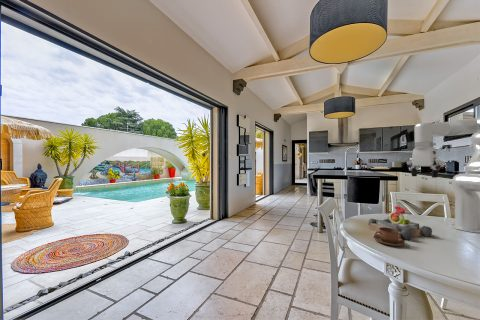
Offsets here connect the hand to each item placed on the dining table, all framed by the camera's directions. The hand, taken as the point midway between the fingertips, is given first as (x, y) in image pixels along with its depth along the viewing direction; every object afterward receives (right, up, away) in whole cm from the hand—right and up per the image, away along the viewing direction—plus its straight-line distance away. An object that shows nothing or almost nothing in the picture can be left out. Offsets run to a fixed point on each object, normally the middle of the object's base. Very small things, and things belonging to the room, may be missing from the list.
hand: (424, 176), depth 111 cm
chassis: (-15, -30, 0) cm, 33 cm away
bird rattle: (-15, -27, -1) cm, 31 cm away
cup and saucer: (-31, -30, -15) cm, 46 cm away
